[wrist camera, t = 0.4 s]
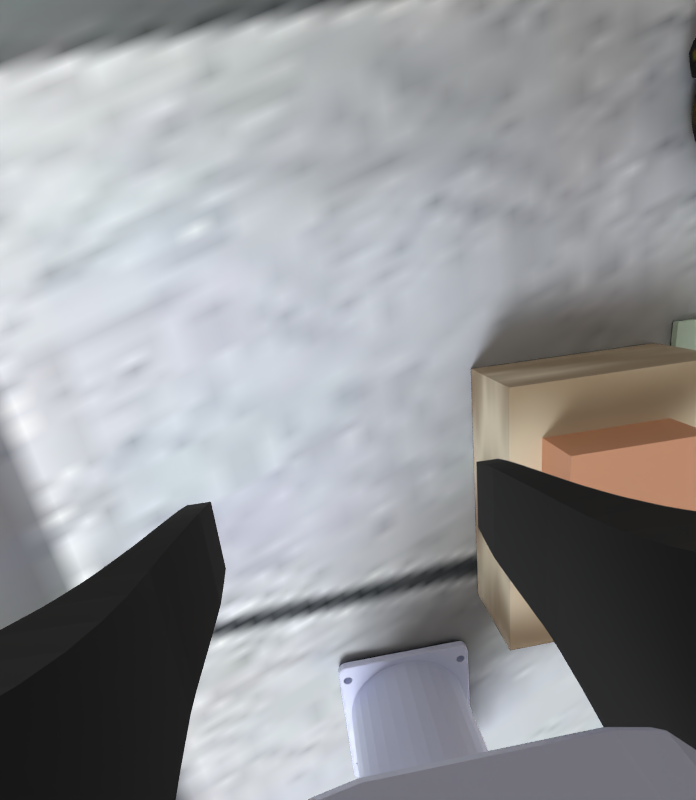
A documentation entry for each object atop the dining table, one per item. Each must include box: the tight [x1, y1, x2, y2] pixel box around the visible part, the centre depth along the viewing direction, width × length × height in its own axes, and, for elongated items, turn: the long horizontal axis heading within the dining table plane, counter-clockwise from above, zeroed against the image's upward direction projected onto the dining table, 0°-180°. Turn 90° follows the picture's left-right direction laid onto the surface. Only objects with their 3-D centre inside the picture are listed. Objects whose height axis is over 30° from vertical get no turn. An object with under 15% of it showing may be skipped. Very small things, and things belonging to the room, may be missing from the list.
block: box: [542, 418, 696, 511], centre depth 19 cm, size 9×6×2 cm, turn 7°
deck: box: [471, 343, 696, 650], centre depth 21 cm, size 14×10×4 cm
